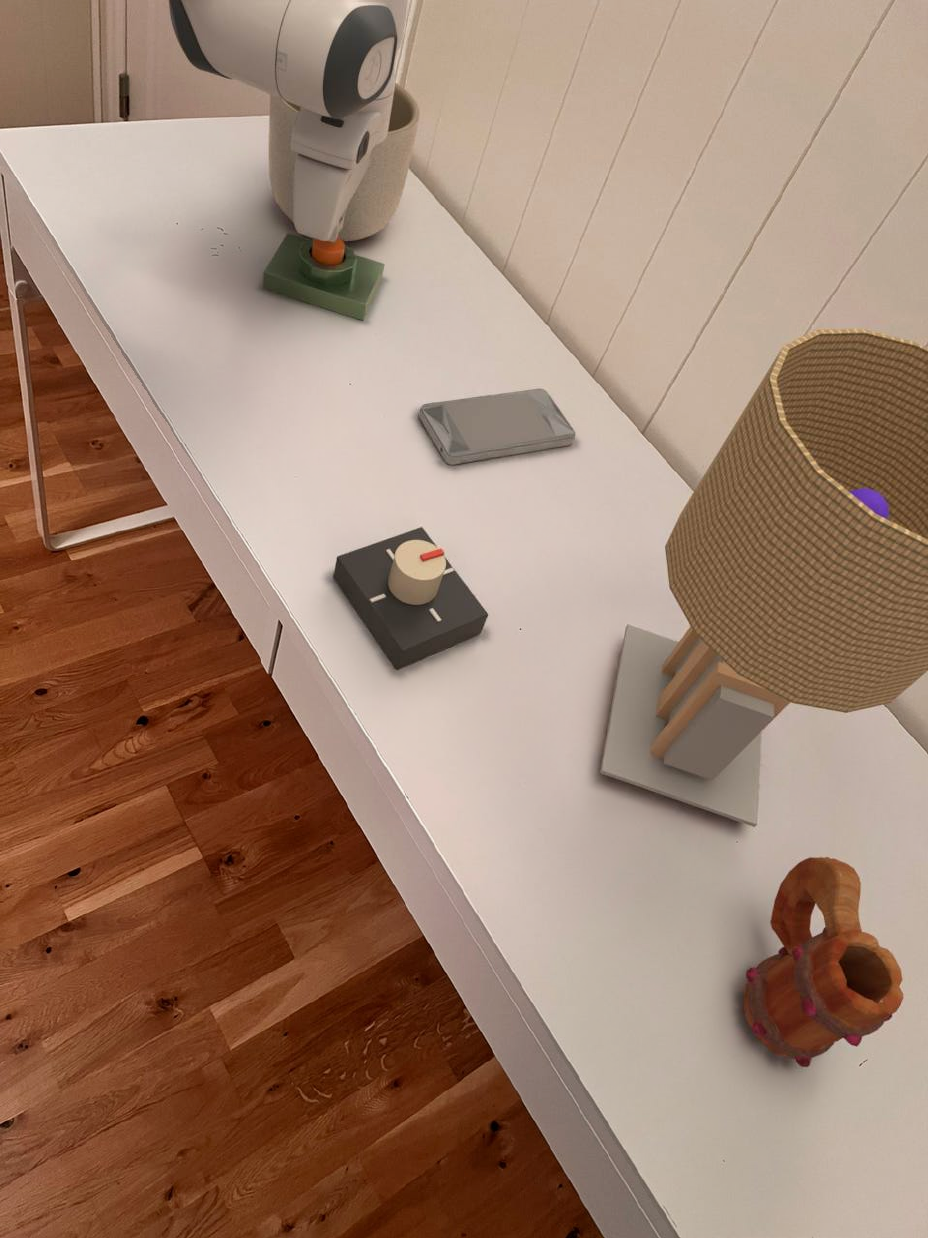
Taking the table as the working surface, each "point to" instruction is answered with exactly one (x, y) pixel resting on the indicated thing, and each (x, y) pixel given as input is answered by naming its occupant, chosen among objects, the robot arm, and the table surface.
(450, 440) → the phone
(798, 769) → the table surface
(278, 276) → the push button box
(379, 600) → the panel
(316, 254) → the switch
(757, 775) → the desk lamp
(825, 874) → the mug
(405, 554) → the dial
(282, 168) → the planter
